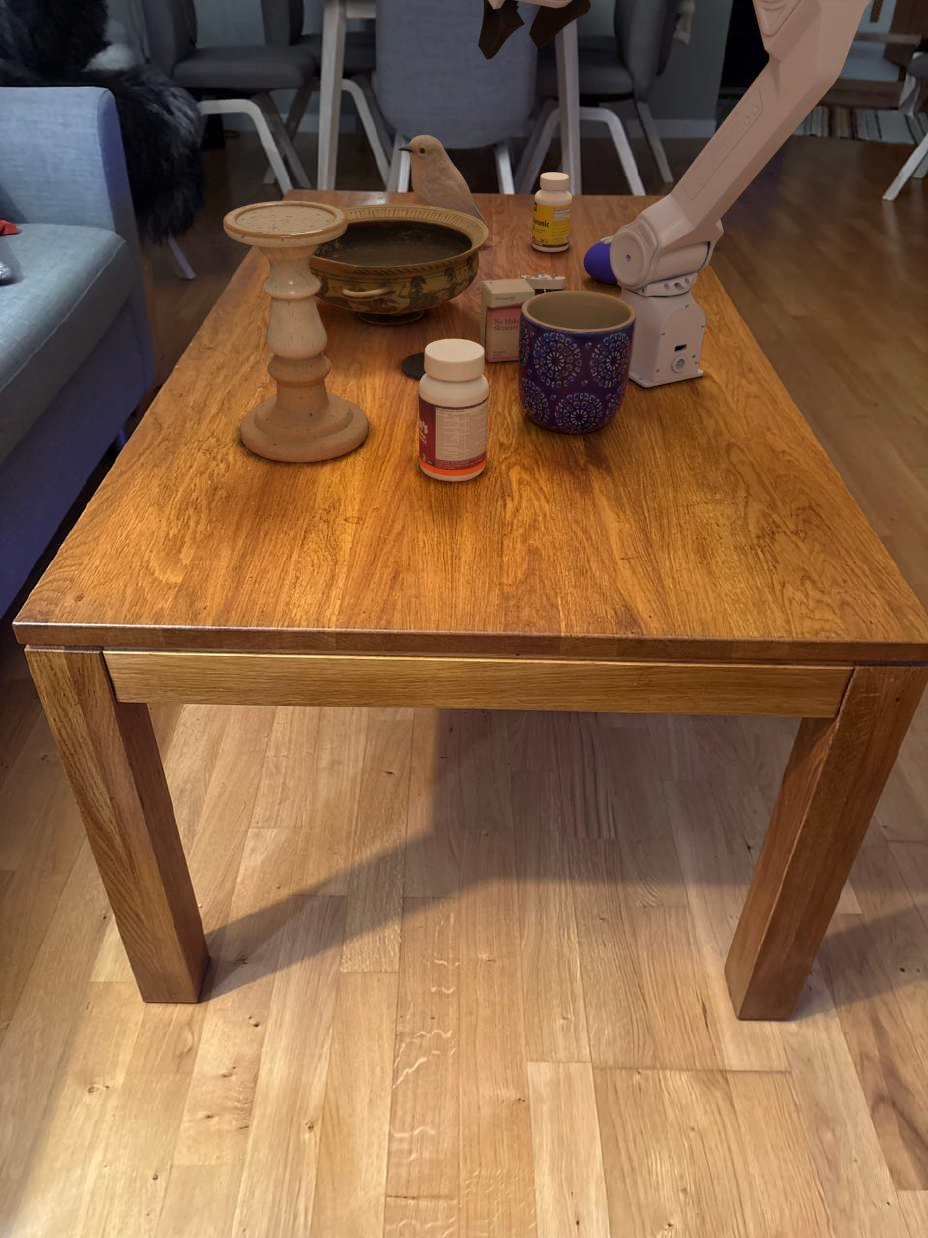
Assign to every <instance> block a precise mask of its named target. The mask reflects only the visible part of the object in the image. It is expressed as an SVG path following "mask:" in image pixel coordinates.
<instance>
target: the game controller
mask: <svg viewBox="0 0 928 1238" xmlns="http://www.w3.org/2000/svg"><path fill="white" fill-rule="evenodd" d="M545 272H546V271H545V270H541V273H540V272H538V271H536V272H535V276H532V275H527V274H526V275H525V274H524V275H521V278H520V279H526V281H527V282H528V283H529V284H530V285H531V287H532V288H533V289H534V290H543V291H544V293H547V291H546V290H562V289H565V285H566V277H565V276H556V273H555V272H554V273H552V277H551V276H550V275H549V274H547V273H545Z"/></svg>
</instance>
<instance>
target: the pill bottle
mask: <svg viewBox="0 0 928 1238" xmlns="http://www.w3.org/2000/svg"><path fill="white" fill-rule="evenodd" d="M424 352H425V362H424V369H425V371H426V374H424V376H423V377H422V378H421V380H419V382H418V461H419V462H418V463H419V467H420V469H421V470H422V472H423V473H424V474H425V475H427V476H428V477H431V478H433V479H434V480H438V481H443V482H465V481H469V480H472V479H474V478H476V477H477V476H478V475H480V474H481V473H482V472H483V471H484V470H485V468H486V463H487V446H488V445H487V444H488V443H487V442H488V419H489V396H490V385H489V382H488V379H487V378H486V377H485V375H484V373H485V366H486V365H485V360H486V357H485V351H484V348H483V347H482V346H481V345H480V343H477V342H475V341H472V340H469V339H464V338H463V339H461V338H442V339H438V340H434V341H432V342H430V343H429V344H427V345H426V347H425V348H424Z"/></svg>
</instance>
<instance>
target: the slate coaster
mask: <svg viewBox="0 0 928 1238" xmlns="http://www.w3.org/2000/svg"><path fill="white" fill-rule="evenodd" d="M424 362H425V351H420V352H416V353H413V354H410V355H407V356H406V357H404V359H403V360H402V362H401V370H402V372H403V373H404V374H405V375H407V376H408V377H410V378H412V379H416V380H419V381H420V380H421V378H422V377H423V376H424V374H426V371H425V369H424Z"/></svg>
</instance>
